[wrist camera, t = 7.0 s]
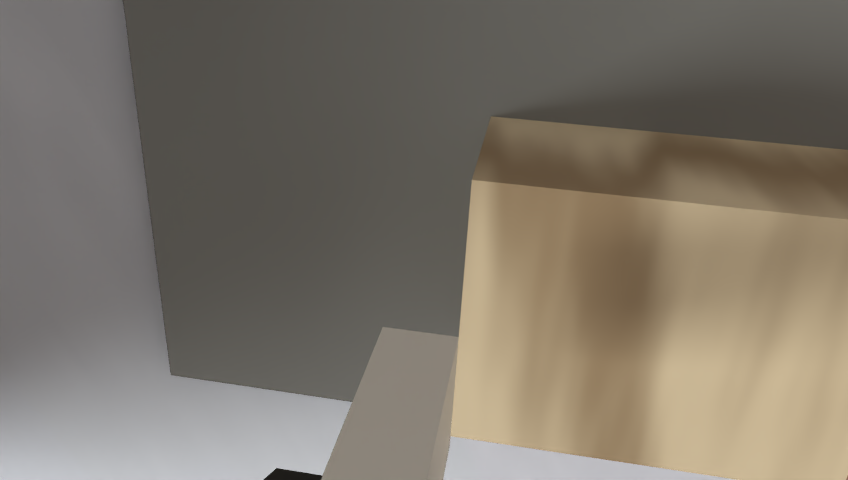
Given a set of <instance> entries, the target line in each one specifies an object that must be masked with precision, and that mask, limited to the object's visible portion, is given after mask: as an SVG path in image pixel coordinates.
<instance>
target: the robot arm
mask: <svg viewBox="0 0 848 480" xmlns="http://www.w3.org/2000/svg"><path fill="white" fill-rule="evenodd" d="M458 338H459V337H455V336H448V335H440V334H433V333H425V332H418V331H410V330H403V329H395V328H388V327H383V328H382V330H381V333H380V335H379V337H378V340H377V342H376V345H375V347H374V350H373V352H372V355H371V357H370V360H369V362H368V365H367V367H366V370H365V372H364V375H363V377H362V379H361V382H360V384H359V387H358V389H357V392H356V394H355V397H354V399H353V402H352V404H351V407H350V409H349V412H348V414H347V417H346V419H345V421H344V424H343V426H342V429H341V431H340V434H339V436H338V439H337V441H336V444H335V446H334V449H333V451H332V454H331V456H330V459H329V461H328V463H327V466H326V468H325V471H324V473H323V476H321V475H315V474H309V473H303V472H297V471H290V470H284V469H278V468H276V469H275V470H274V471H273V472H272V473H271V474H270V475H268V476H267V477H266V478H265V479H264V480H443V477H444V472H445V466H446V461H447V456H448V451H449V446H450V434H451V422H452V410H453V398H454V386H455V374H456V362H457V350H458Z"/></svg>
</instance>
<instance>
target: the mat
mask: <svg viewBox="0 0 848 480" xmlns="http://www.w3.org/2000/svg"><path fill="white" fill-rule="evenodd" d="M123 4H124V12H125V20H126V28H127V35H128V43H129V51H130V59H131V67H132V75H133V82H134V90H135V98H136V106H137V114H138V122H139V129H140V137H141V145H142V153H143V161H144V169H145V176H146V184H147V192H148V200H149V208H150V216H151V223H152V231H153V239H154V247H155V255H156V262H157V270H158V278H159V286H160V294H161V302H162V309H163V317H164V325H165V333H166V341H167V349H168V356H169V364H170V372H171V375H175V376H181V377H188V378H195V379H202V380H208V381H215V382H222V383H229V384H235V385H242V386H249V387H256V388H262V389H269V390H276V391H283V392H289V393H296V394H303V395H310V396H316V397H323V398H330V399H337V400H343V401H350V402H353V399H354V397H355V394H356V392H357V389H358V387H359V384H360V382H361V379H362V377H363V375H364V372H365V370H366V367H367V365H368V362H369V360H370V357H371V355H372V352H373V350H374V347H375V345H376V342H377V340H378V337H379V335H380V333H381V330H382V328H383V327H388V328H395V329H403V330H410V331H418V332H425V333H433V334H440V335H448V336H455V337H459V328H460V316H461V304H462V292H463V280H464V268H465V256H466V244H467V232H468V220H469V208H470V196H471V184H472V178H473V174H474V171H475V168H476V164H477V161H478V158H479V154H480V151H481V148H482V144H483V141H484V138H485V135H486V131H487V128H488V125H489V121H490V118H491V116H493V117H503V118H514V119H525V120H535V121H546V122H557V123H567V124H578V125H588V126H599V127H610V128H620V129H631V130H642V131H652V132H663V133H674V134H684V135H695V136H705V137H716V138H727V139H737V140H748V141H759V142H769V143H780V144H791V145H801V146H812V147H823V148H833V149H844V150H848V0H123ZM458 340H459V338H458ZM457 352H458V350H457ZM456 364H457V362H456ZM455 375H456V374H455ZM454 387H455V386H454ZM453 399H454V398H453ZM452 411H453V410H452Z"/></svg>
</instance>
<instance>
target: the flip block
mask: <svg viewBox="0 0 848 480" xmlns="http://www.w3.org/2000/svg"><path fill="white" fill-rule="evenodd" d="M450 436H453V437H460V438H467V439H473V440H480V441H486V442H493V443H500V444H506V445H513V446H520V447H526V448H533V449H539V450H546V451H553V452H559V453H566V454H572V455H579V456H586V457H592V458H599V459H605V460H612V461H619V462H625V463H632V464H638V465H645V466H652V467H658V468H665V469H671V470H678V471H685V472H691V473H698V474H704V475H711V476H718V477H724V478H731V479H737V480H848V150H844V149H833V148H823V147H812V146H801V145H791V144H780V143H769V142H759V141H748V140H737V139H727V138H716V137H705V136H695V135H684V134H674V133H663V132H652V131H642V130H631V129H620V128H610V127H599V126H588V125H578V124H567V123H557V122H546V121H535V120H525V119H514V118H503V117H493V116H491V118H490V121H489V125H488V128H487V131H486V135H485V138H484V141H483V144H482V148H481V151H480V154H479V158H478V161H477V164H476V168H475V171H474V174H473V178H472V184H471V196H470V208H469V220H468V232H467V244H466V256H465V268H464V280H463V292H462V304H461V316H460V328H459V340H458V352H457V364H456V375H455V387H454V399H453V411H452V423H451V435H450Z"/></svg>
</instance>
